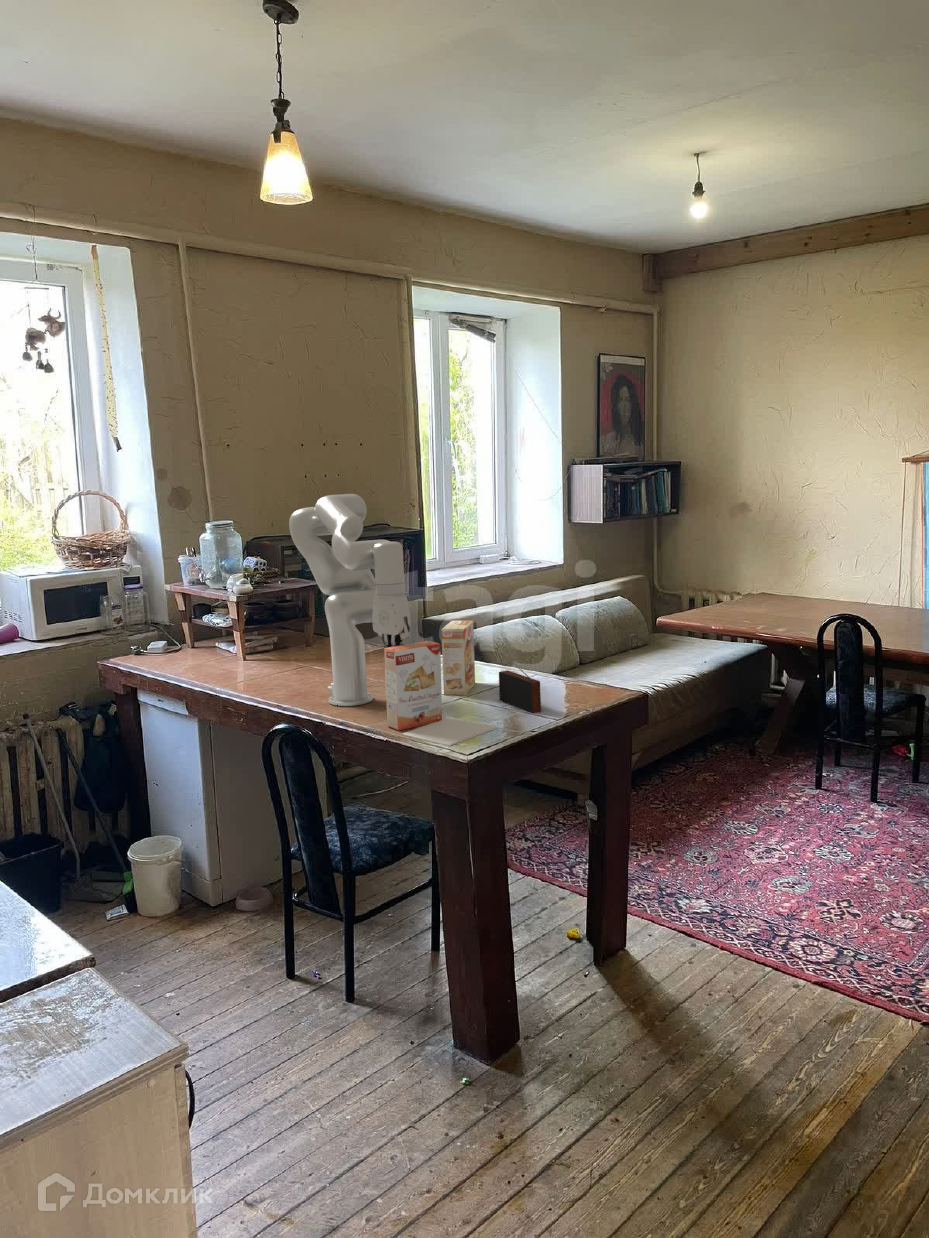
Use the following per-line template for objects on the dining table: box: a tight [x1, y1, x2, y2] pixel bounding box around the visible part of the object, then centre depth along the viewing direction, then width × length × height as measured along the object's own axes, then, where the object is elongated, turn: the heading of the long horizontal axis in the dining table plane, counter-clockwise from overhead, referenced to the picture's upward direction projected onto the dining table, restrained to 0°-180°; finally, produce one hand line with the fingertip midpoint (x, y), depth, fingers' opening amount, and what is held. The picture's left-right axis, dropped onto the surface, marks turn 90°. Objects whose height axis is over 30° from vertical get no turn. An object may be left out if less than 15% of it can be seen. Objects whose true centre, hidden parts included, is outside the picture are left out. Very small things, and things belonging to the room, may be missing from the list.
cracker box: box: [383, 640, 443, 731], centre depth 235 cm, size 14×6×21 cm, turn 127°
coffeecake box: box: [440, 619, 476, 696], centre depth 270 cm, size 15×7×20 cm, turn 168°
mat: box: [401, 716, 498, 747], centre depth 229 cm, size 16×18×1 cm
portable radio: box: [496, 647, 542, 714], centre depth 250 cm, size 19×3×15 cm, turn 30°
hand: (394, 659), depth 238 cm, fingers closed
